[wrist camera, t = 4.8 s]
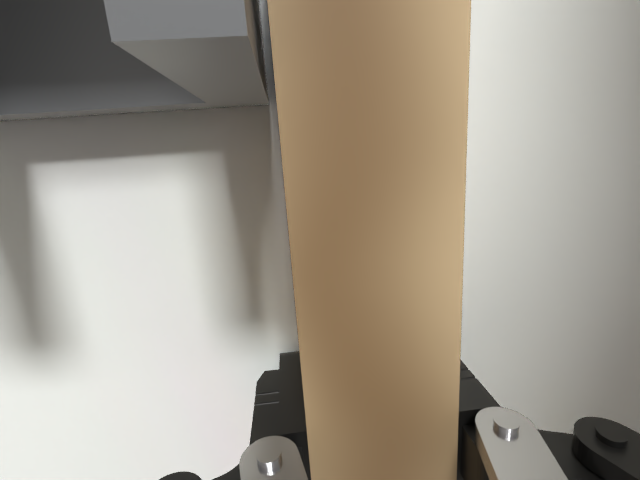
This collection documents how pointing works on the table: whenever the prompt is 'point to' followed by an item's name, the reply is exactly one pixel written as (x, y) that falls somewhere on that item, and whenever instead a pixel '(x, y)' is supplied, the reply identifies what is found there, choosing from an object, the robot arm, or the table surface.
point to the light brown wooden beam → (376, 226)
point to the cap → (128, 56)
